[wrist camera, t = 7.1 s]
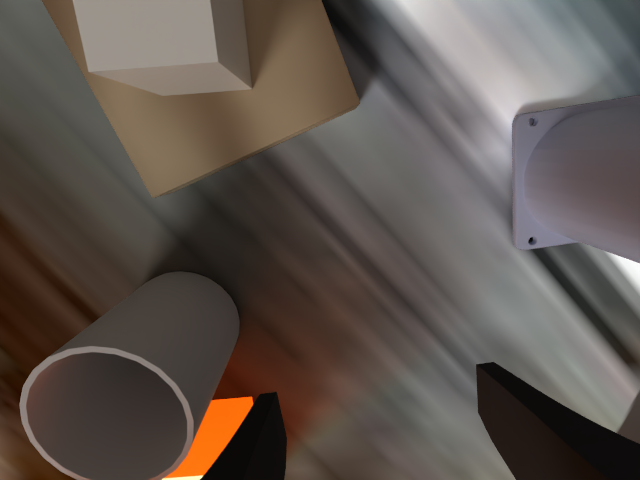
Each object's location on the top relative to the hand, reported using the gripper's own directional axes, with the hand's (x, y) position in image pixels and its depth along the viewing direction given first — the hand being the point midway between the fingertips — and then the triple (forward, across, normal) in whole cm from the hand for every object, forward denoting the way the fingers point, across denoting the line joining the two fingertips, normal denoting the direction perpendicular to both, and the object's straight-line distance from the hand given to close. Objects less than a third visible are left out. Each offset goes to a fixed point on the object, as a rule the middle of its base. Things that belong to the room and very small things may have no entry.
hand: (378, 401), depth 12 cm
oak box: (+11, +6, -15) cm, 20 cm away
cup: (+11, +12, +2) cm, 16 cm away
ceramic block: (+8, +6, -15) cm, 18 cm away
